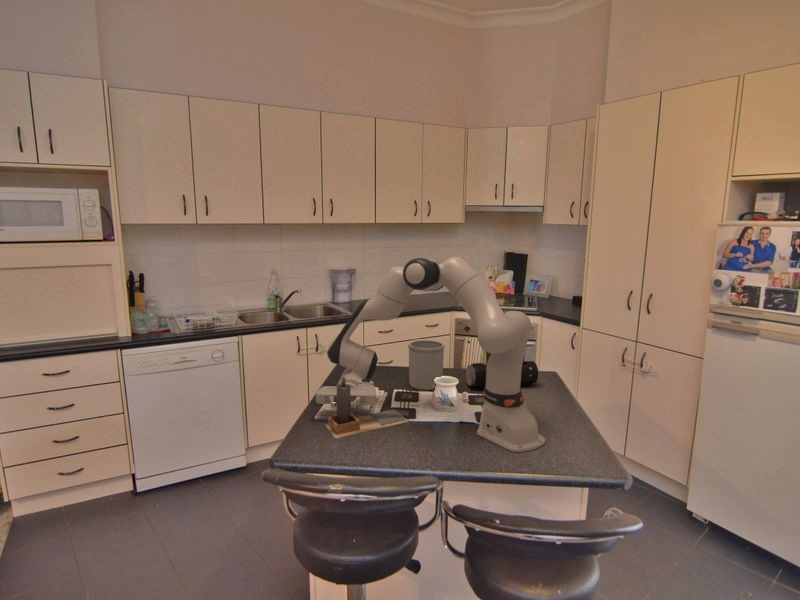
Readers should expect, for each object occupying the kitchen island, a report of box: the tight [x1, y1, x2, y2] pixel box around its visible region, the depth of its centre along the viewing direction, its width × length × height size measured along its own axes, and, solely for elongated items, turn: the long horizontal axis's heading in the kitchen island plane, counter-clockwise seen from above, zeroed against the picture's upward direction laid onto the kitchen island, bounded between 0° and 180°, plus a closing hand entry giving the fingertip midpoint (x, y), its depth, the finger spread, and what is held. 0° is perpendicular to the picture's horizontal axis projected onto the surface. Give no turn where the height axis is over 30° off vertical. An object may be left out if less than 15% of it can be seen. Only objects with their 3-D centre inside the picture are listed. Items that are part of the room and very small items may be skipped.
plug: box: [336, 377, 352, 425], centre depth 152 cm, size 4×4×17 cm
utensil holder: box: [407, 338, 445, 391], centre depth 194 cm, size 15×15×18 cm
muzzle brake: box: [465, 360, 539, 389], centre depth 192 cm, size 10×28×10 cm, turn 100°
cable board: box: [323, 408, 410, 439], centre depth 156 cm, size 11×26×4 cm, turn 118°
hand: (343, 405), depth 151 cm, fingers open, 5 cm apart
